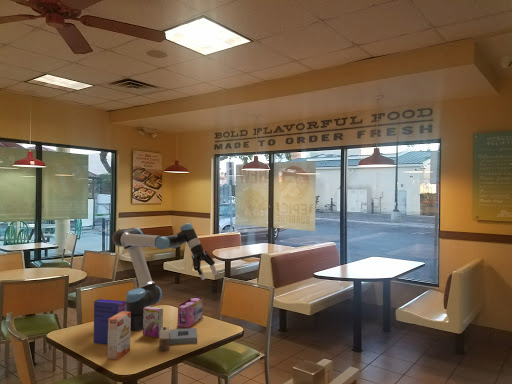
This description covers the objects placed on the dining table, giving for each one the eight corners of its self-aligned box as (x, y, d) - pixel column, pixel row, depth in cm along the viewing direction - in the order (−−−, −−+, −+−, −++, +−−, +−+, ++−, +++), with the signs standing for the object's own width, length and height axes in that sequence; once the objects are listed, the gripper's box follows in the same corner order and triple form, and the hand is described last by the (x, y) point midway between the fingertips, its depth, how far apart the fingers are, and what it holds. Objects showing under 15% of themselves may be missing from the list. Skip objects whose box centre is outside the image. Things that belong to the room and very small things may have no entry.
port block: (168, 344, 222) (168, 339, 222) (169, 334, 237) (169, 329, 237) (197, 342, 224) (197, 337, 224) (196, 332, 240) (196, 328, 240)
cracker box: (117, 360, 200) (118, 319, 200) (106, 359, 201) (107, 318, 201) (131, 349, 214) (131, 311, 214) (120, 348, 215) (121, 310, 215)
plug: (160, 349, 214) (160, 329, 214) (160, 345, 220) (160, 325, 220) (168, 349, 214) (168, 329, 215) (168, 345, 221) (168, 325, 221)
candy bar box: (142, 335, 235) (142, 308, 235) (147, 332, 240) (147, 305, 240) (158, 337, 231) (158, 310, 231) (163, 335, 236) (163, 307, 236)
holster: (159, 351, 212) (159, 340, 212) (160, 344, 222) (160, 333, 222) (168, 350, 213) (168, 339, 213) (169, 343, 223) (169, 333, 223)
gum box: (187, 328, 248) (187, 307, 248) (176, 327, 250) (176, 306, 250) (202, 317, 271) (203, 297, 271) (192, 316, 273) (192, 296, 273)
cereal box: (125, 343, 223) (126, 301, 223) (120, 346, 218) (121, 303, 218) (99, 340, 227) (99, 298, 227) (93, 343, 223) (94, 300, 223)
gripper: (188, 246, 234) (203, 278, 229) (210, 241, 256) (225, 270, 252) (179, 251, 237) (194, 283, 232) (202, 246, 259) (216, 275, 255)
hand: (210, 277), depth 242 cm, fingers open, 13 cm apart
